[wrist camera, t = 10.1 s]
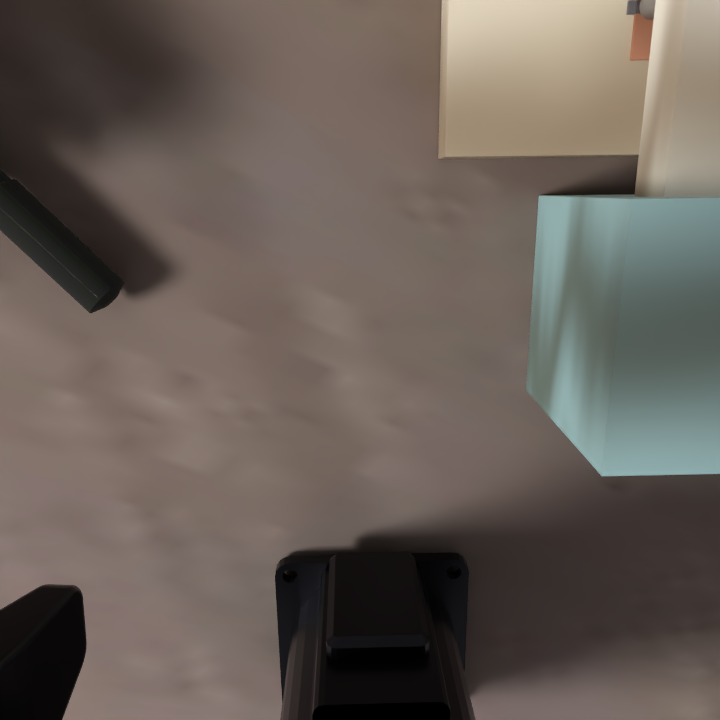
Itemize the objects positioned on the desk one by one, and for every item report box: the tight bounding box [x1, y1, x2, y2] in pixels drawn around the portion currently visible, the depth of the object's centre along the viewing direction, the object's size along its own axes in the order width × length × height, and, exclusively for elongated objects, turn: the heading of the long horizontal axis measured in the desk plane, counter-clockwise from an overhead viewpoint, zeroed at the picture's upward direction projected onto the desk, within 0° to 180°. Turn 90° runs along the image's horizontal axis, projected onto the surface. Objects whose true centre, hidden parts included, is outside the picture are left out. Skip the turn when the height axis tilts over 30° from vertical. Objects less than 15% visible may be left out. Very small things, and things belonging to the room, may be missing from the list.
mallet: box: [526, 0, 720, 476], centre depth 15 cm, size 11×4×6 cm, turn 1°
